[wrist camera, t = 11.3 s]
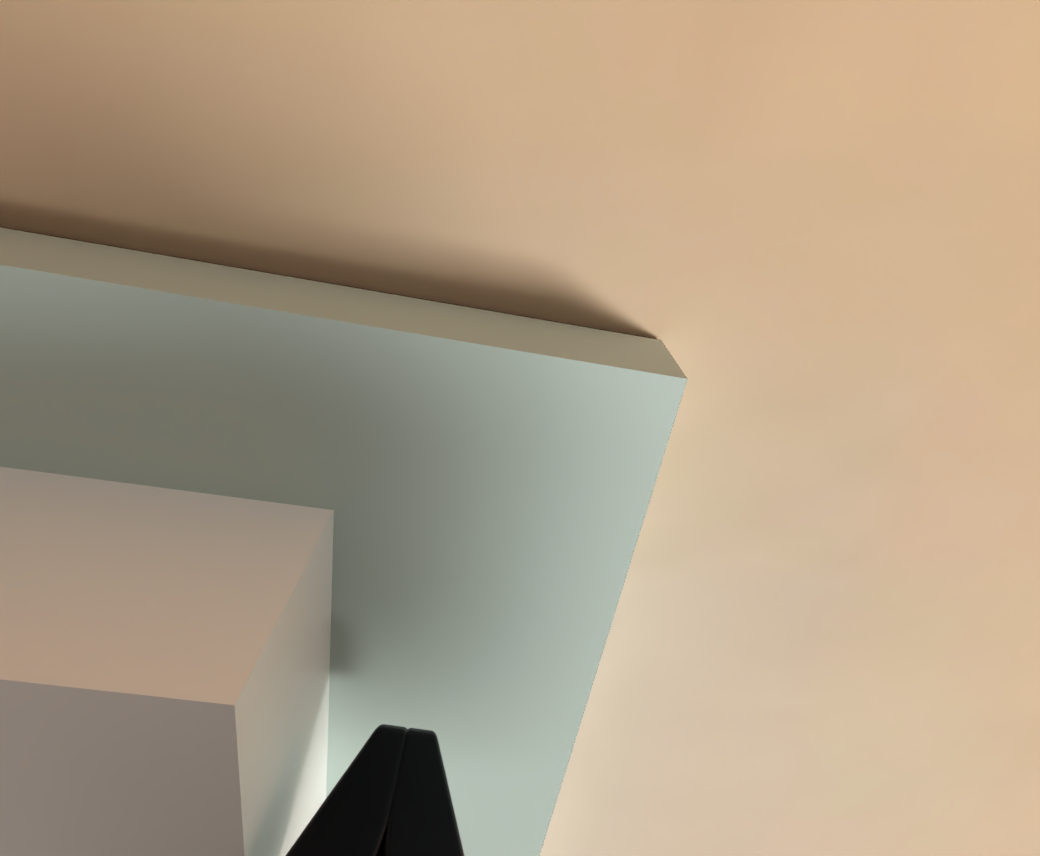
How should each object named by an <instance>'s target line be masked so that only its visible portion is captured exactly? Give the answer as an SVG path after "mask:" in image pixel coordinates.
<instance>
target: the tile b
mask: <svg viewBox="0 0 1040 856" xmlns="http://www.w3.org/2000/svg"><path fill="white" fill-rule="evenodd" d="M333 524H334V510H329V509H321V508H313V507H306V506H298V505H290V504H283V503H275V502H267V501H260V500H252V499H245V498H237V497H229V496H222V495H214V494H206V493H199V492H191V491H183V490H176V489H168V488H160V487H153V486H145V485H137V484H130V483H122V482H114V481H107V480H99V479H91V478H84V477H76V476H68V475H61V474H53V473H45V472H38V471H30V470H22V469H15V468H7V467H0V856H286V854H287V853H288V851H289V850H290V849H291V847H292V846H293V844H294V843H295V842H296V840H297V839H298V837H299V836H300V834H301V833H302V832H303V830H304V829H305V827H306V826H307V825H308V823H309V822H310V820H311V819H312V818H313V816H314V815H315V813H316V812H317V811H318V809H319V808H320V806H321V805H322V803H323V802H324V801H325V799H326V782H327V745H328V709H329V672H330V635H331V598H332V561H333Z"/></svg>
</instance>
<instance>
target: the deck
mask: <svg viewBox="0 0 1040 856" xmlns="http://www.w3.org/2000/svg"><path fill="white" fill-rule="evenodd" d="M686 382H687V378H686V376H685V375H684V373H683V372H682V370H681V369H680V367H679V366H678V364H677V363H676V361H675V360H674V358H673V357H672V355H671V354H670V352H669V351H668V350H667V348H666V347H665V345H664V344H663V342H662V341H661V340H658V339H652V338H646V337H640V336H634V335H628V334H623V333H617V332H611V331H605V330H599V329H593V328H587V327H582V326H576V325H570V324H564V323H558V322H552V321H546V320H540V319H535V318H529V317H523V316H517V315H511V314H505V313H499V312H494V311H488V310H482V309H476V308H470V307H464V306H458V305H452V304H447V303H441V302H435V301H429V300H423V299H417V298H411V297H406V296H400V295H394V294H388V293H382V292H376V291H370V290H364V289H359V288H353V287H347V286H341V285H335V284H329V283H323V282H318V281H312V280H306V279H300V278H294V277H288V276H282V275H276V274H271V273H265V272H259V271H253V270H247V269H241V268H235V267H230V266H224V265H218V264H212V263H206V262H200V261H194V260H188V259H183V258H177V257H171V256H165V255H159V254H153V253H147V252H142V251H136V250H130V249H124V248H118V247H112V246H106V245H100V244H95V243H89V242H83V241H77V240H71V239H65V238H59V237H54V236H48V235H42V234H36V233H30V232H24V231H18V230H13V229H7V228H1V227H0V467H7V468H15V469H22V470H30V471H38V472H45V473H53V474H61V475H68V476H76V477H84V478H91V479H99V480H107V481H114V482H122V483H130V484H137V485H145V486H153V487H160V488H168V489H176V490H183V491H191V492H199V493H206V494H214V495H222V496H229V497H237V498H245V499H252V500H260V501H267V502H275V503H283V504H290V505H298V506H306V507H313V508H321V509H329V510H334V524H333V561H332V598H331V635H330V672H329V709H328V745H327V782H326V798H327V796H328V795H329V794H330V792H331V791H332V789H333V788H334V787H335V785H336V784H337V782H338V781H339V779H340V778H341V777H342V775H343V774H344V772H345V771H346V770H347V768H348V767H349V765H350V764H351V763H352V761H353V760H354V758H355V757H356V756H357V754H358V753H359V751H360V750H361V748H362V747H363V746H364V744H365V743H366V741H367V740H368V739H369V737H370V736H371V734H372V733H373V732H374V730H375V729H376V728H377V727H378V726H379V725H382V724H387V725H395V726H402V727H406V728H407V729H409V728H417V729H425V730H432V731H434V732H435V733H436V735H437V738H438V742H439V746H440V751H441V755H442V759H443V764H444V768H445V772H446V777H447V781H448V786H449V790H450V794H451V799H452V803H453V807H454V812H455V816H456V820H457V825H458V829H459V834H460V838H461V842H462V847H463V851H464V855H465V856H539V855H540V852H541V849H542V846H543V842H544V839H545V836H546V833H547V829H548V826H549V823H550V820H551V817H552V813H553V810H554V807H555V804H556V801H557V797H558V794H559V791H560V788H561V784H562V781H563V778H564V775H565V772H566V768H567V765H568V762H569V759H570V755H571V752H572V749H573V746H574V743H575V739H576V736H577V733H578V730H579V726H580V723H581V720H582V717H583V714H584V710H585V707H586V704H587V701H588V698H589V694H590V691H591V688H592V685H593V681H594V678H595V675H596V672H597V669H598V665H599V662H600V659H601V656H602V652H603V649H604V646H605V643H606V640H607V636H608V633H609V630H610V627H611V623H612V620H613V617H614V614H615V611H616V607H617V604H618V601H619V598H620V594H621V591H622V588H623V585H624V582H625V578H626V575H627V572H628V569H629V566H630V562H631V559H632V556H633V553H634V549H635V546H636V543H637V540H638V537H639V533H640V530H641V527H642V524H643V520H644V517H645V514H646V511H647V508H648V504H649V501H650V498H651V495H652V491H653V488H654V485H655V482H656V479H657V475H658V472H659V469H660V466H661V463H662V459H663V456H664V453H665V450H666V446H667V443H668V440H669V437H670V434H671V430H672V427H673V424H674V421H675V417H676V414H677V411H678V408H679V405H680V401H681V398H682V395H683V392H684V388H685V385H686Z"/></svg>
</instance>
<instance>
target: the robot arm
mask: <svg viewBox="0 0 1040 856" xmlns="http://www.w3.org/2000/svg"><path fill="white" fill-rule="evenodd" d="M286 856H465V855H464V851H463V847H462V842H461V838H460V834H459V829H458V825H457V820H456V816H455V812H454V807H453V803H452V799H451V794H450V790H449V786H448V781H447V777H446V772H445V768H444V764H443V759H442V755H441V751H440V746H439V742H438V738H437V735H436V733H435V732H434V731H432V730H425V729H417V728H409V729H407V728H406V727H402V726H395V725H387V724H382V725H379V726H378V727H377V728H376V729H375V730H374V732H373V733H372V734H371V736H370V737H369V739H368V740H367V741H366V743H365V744H364V746H363V747H362V748H361V750H360V751H359V753H358V754H357V756H356V757H355V758H354V760H353V761H352V763H351V764H350V765H349V767H348V768H347V770H346V771H345V772H344V774H343V775H342V777H341V778H340V779H339V781H338V782H337V784H336V785H335V787H334V788H333V789H332V791H331V792H330V794H329V795H328V796H327V798H326V799H325V801H324V802H323V803H322V805H321V806H320V808H319V809H318V811H317V812H316V813H315V815H314V816H313V818H312V819H311V820H310V822H309V823H308V825H307V826H306V827H305V829H304V830H303V832H302V833H301V834H300V836H299V837H298V839H297V840H296V842H295V843H294V844H293V846H292V847H291V849H290V850H289V851H288V853H287V854H286Z"/></svg>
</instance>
